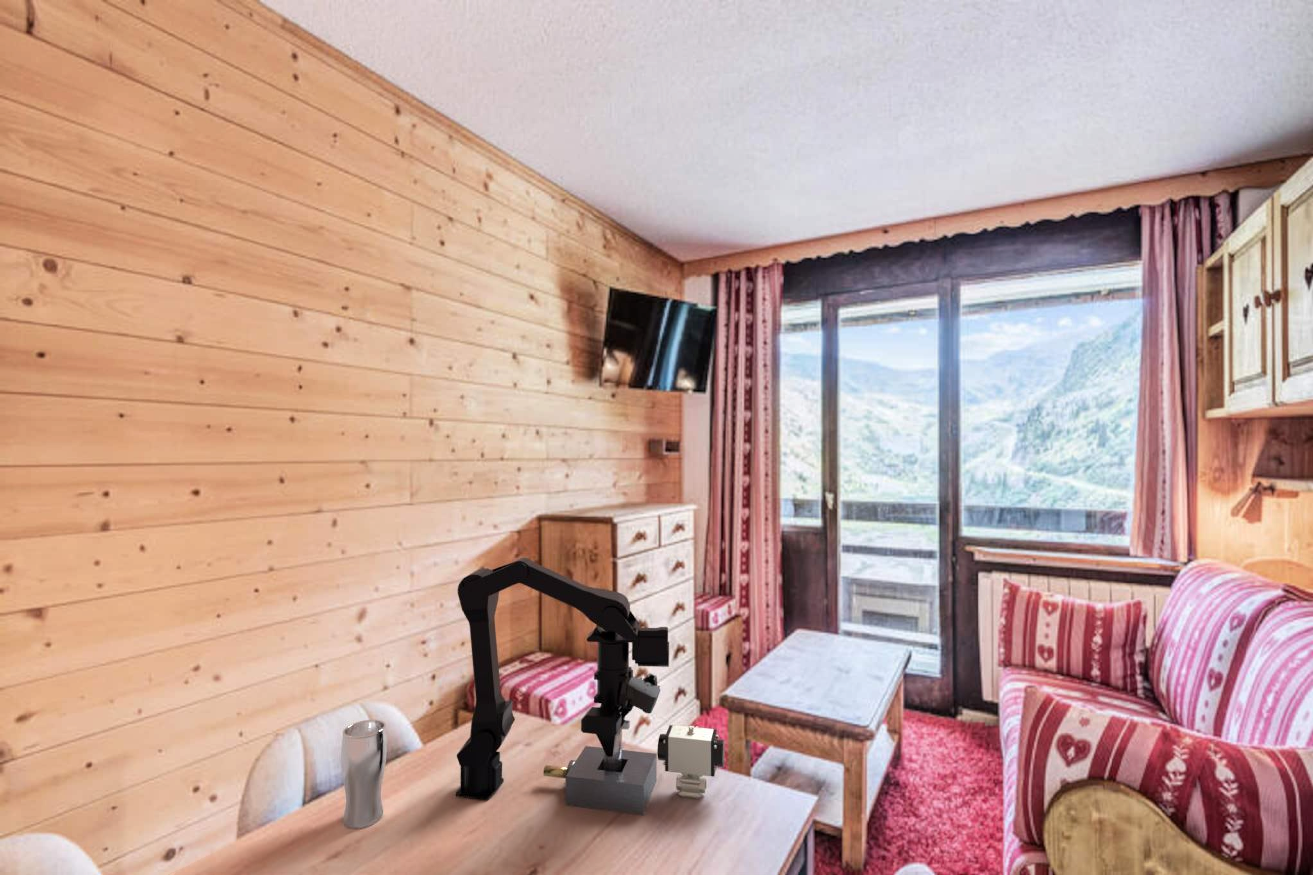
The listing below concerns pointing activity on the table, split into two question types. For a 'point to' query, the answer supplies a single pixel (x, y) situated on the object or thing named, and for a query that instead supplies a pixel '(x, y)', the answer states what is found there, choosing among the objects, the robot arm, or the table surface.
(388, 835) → the table surface
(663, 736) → the pneumatic valve
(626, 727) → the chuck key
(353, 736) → the beer glass
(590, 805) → the block
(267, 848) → the table surface
